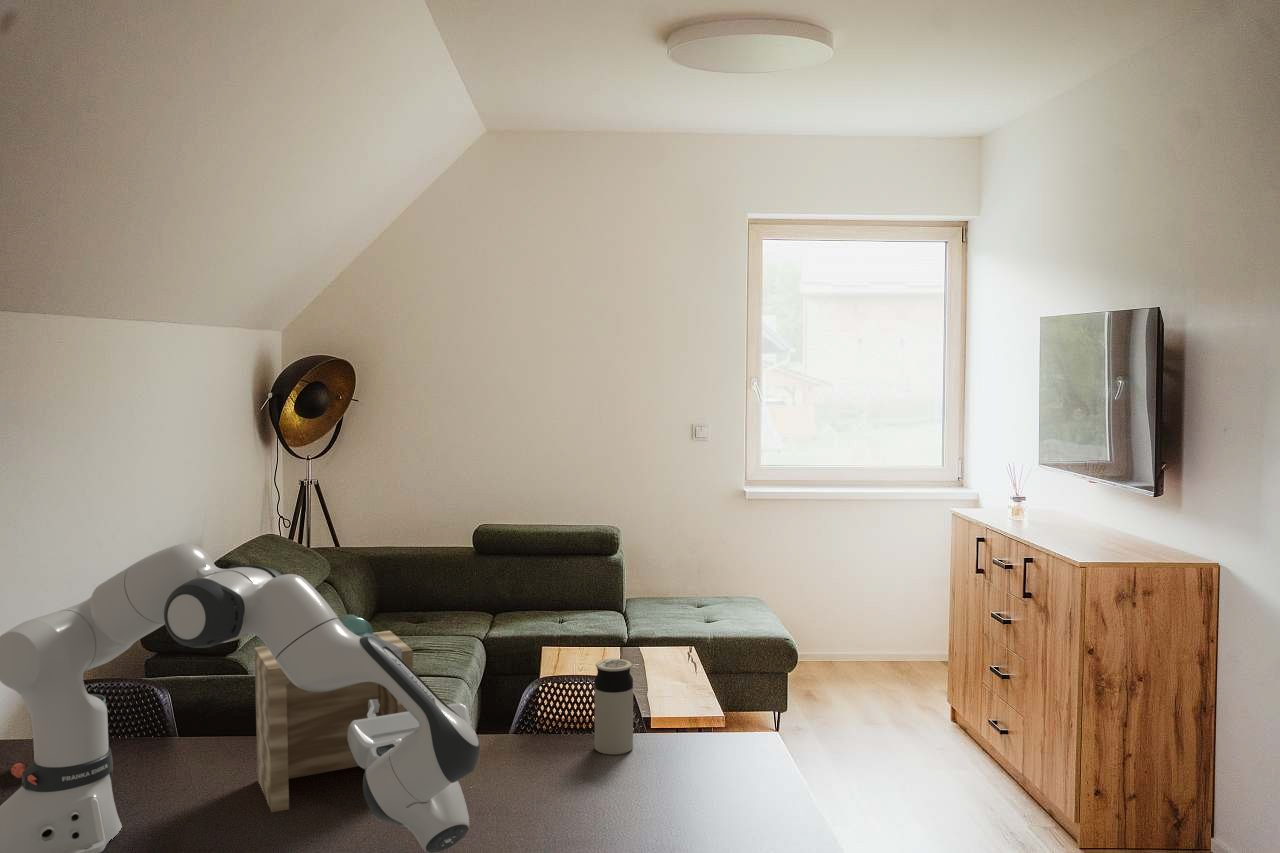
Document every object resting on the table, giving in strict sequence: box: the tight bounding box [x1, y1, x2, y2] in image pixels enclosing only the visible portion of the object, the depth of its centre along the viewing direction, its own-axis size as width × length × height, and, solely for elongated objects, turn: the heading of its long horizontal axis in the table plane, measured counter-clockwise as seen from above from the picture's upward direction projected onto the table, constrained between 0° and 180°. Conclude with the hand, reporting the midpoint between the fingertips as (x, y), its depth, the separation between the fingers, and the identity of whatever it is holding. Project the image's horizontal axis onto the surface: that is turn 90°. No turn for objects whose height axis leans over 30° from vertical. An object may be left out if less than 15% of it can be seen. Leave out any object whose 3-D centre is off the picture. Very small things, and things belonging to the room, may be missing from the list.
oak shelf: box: [254, 630, 414, 813], centre depth 199 cm, size 16×26×26 cm, turn 119°
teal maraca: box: [339, 614, 402, 659], centre depth 193 cm, size 20×6×6 cm, turn 39°
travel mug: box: [594, 658, 634, 756], centre depth 216 cm, size 8×8×18 cm
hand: (399, 697), depth 180 cm, fingers open, 8 cm apart
